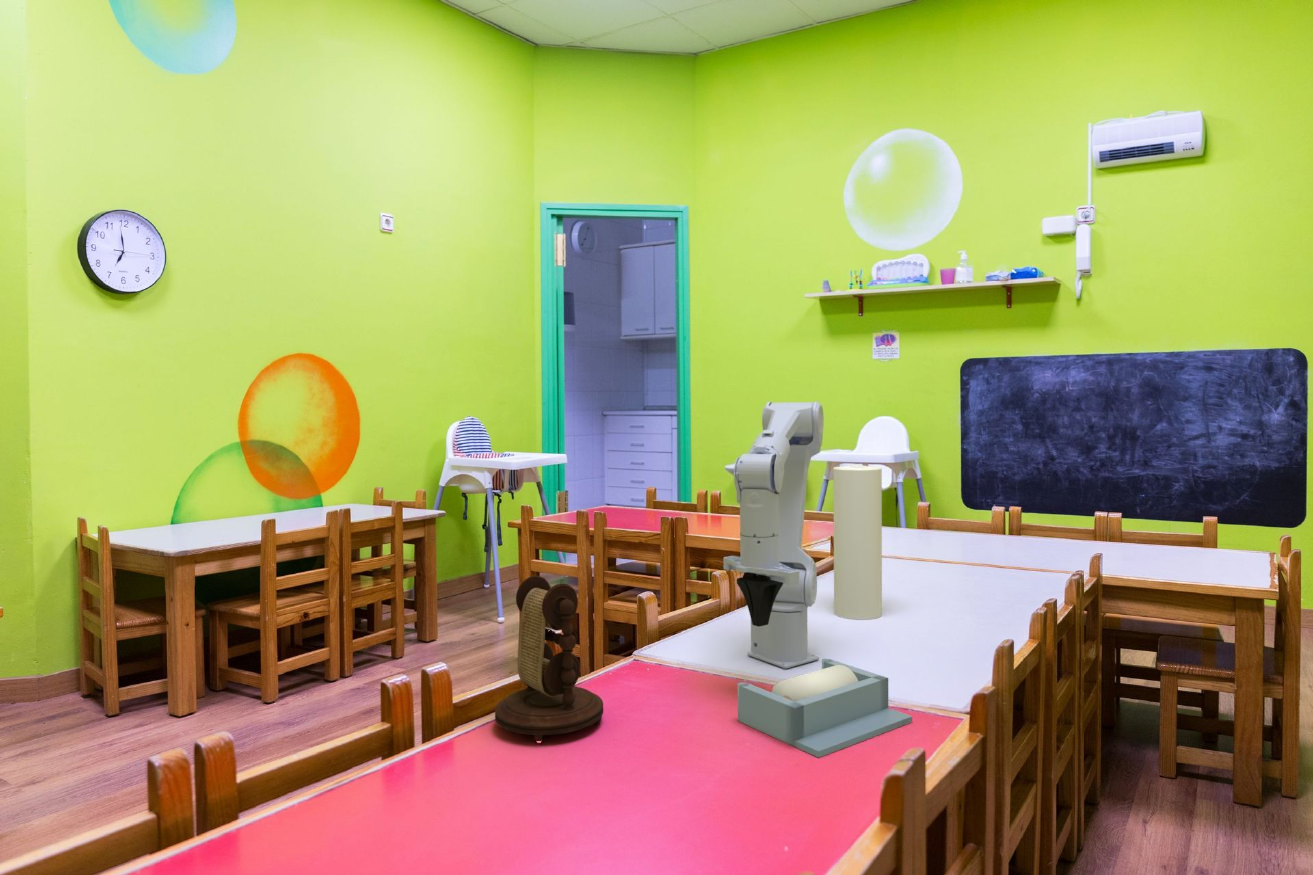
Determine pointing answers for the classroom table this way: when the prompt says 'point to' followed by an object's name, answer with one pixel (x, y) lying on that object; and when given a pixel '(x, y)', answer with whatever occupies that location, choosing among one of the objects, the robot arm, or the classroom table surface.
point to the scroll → (547, 666)
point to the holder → (823, 713)
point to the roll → (815, 683)
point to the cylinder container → (857, 542)
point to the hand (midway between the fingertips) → (760, 624)
